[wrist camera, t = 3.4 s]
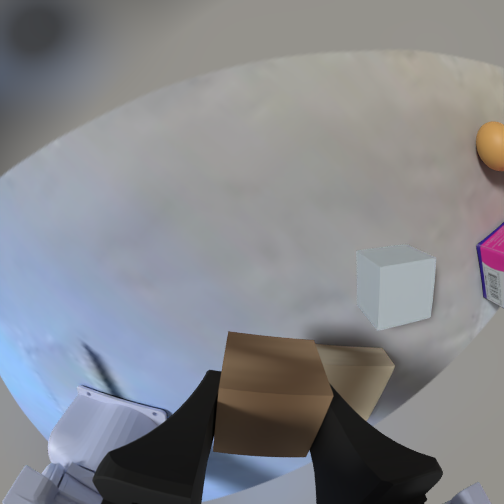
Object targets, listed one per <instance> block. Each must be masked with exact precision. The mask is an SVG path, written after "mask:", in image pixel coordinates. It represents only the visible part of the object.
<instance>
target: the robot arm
mask: <svg viewBox="0 0 504 504" xmlns="http://www.w3.org/2000/svg"><path fill="white" fill-rule="evenodd" d="M220 378H221V371H214V370H209V371H207V372H206V375H205V376H204V378H203V380H202V381H201V383H200V384H199V386H198V387H197V388H196V390H195V391H194V392H193V393H192V395H191V396H190V397H189V398H188V399H187V401H186V402H185V403H184V404H183V405H182V406H181V407H180V408H179V409H178V410H177V411H176V412H175V413H174V414H173V415H171V416H170V417H169V418H168V419H167V415H166V412H165V411H163V410H161V409H156V408H152V407H148V406H144V405H141V404H137V403H133V402H130V401H126V400H123V399H120V398H116V397H113V396H110V395H107V394H104V393H101V392H98V391H95V390H92V389H90V388H87V387H84V386H81V385H79V386H78V387H77V391H78V395H77V396H76V398H75V399H74V400H73V402H72V403H71V404H70V406H69V407H68V409H67V410H66V411H65V413H64V414H63V415H62V417H61V418H60V420H59V421H58V422H57V424H56V425H55V427H54V428H53V430H52V432H51V435H50V438H49V442H48V454H49V458H50V461H51V463H50V464H49V465H48V466H47V467H46V468H45V470H44V471H43V472H42V474H41V473H39V472H37V471H36V470H34V469H32V468H31V467H29V466H28V465H25V466H24V468H23V469H22V471H21V472H20V474H19V475H18V477H17V479H16V480H15V482H14V483H13V485H12V487H11V488H10V490H9V491H8V493H7V495H6V496H5V498H4V500H3V501H2V503H3V504H201V501H202V494H203V486H204V479H205V472H206V466H207V461H208V457H209V453H210V449H211V446H212V442H213V438H214V434H215V423H216V412H217V401H218V391H219V384H220ZM329 384H330V383H329ZM330 387H331V390H332V392H333V395H334V396H333V398H332V401H331V403H330V406H329V408H328V410H327V413H326V415H325V417H324V420H323V422H322V424H321V426H320V428H319V431H318V433H317V435H316V437H315V439H314V441H313V443H312V445H311V448H310V453H311V457H312V462H313V467H314V472H315V485H316V503H317V504H424V502H426V501H427V498H426V496H425V494H426V493H427V492H428V491H429V490H430V489H431V488H432V487H433V486H434V485H435V484H436V483H437V482H438V481H439V480H440V479H441V477H442V475H443V471H442V469H441V467H440V466H439V464H438V462H437V460H436V459H435V458H434V457H431V456H428V455H425V454H421V453H418V452H416V451H414V450H411V449H409V448H407V447H405V446H403V445H401V444H398V443H397V442H395V441H393V440H392V439H390V438H388V437H387V436H385V435H384V434H382V433H381V432H379V431H378V430H377V429H375V428H374V427H373V426H371V425H370V424H369V423H368V422H366V421H365V420H364V419H363V418H362V417H361V416H360V415H359V414H358V413H357V412H356V411H355V410H354V409H353V408H352V407H351V406H350V405H349V404H348V403H347V402H346V401H345V400H344V399H343V398H342V397H341V396H340V394H339V393H338V392H337V391H336V390H335V389H334V388H333V386H332V385H331V384H330ZM443 504H491V503H490V501H489V499H488V497H487V495H486V493H485V492H484V490H483V488H482V486H481V485H480V483H479V482H477V483H475V484H473V485H471V486H469V487H467V488H465V489H463V490H462V491H460V492H459V493H458V494H456V495H455V496H454V497H453V498H452V500H450V501H448V502H445V503H443Z"/></svg>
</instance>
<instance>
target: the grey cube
mask: <svg viewBox="0 0 504 504" xmlns="http://www.w3.org/2000/svg"><path fill="white" fill-rule="evenodd" d="M356 255H357V306H358V307H359V308H360V309H361V311H362V312H363V313H364V314H365V316H366V317H367V318H368V319H369V321H370V322H371V323H372V325H373V326H374V327H375V328H376V330H377V331H378V330H383V329H387V328H392V327H396V326H400V325H404V324H408V323H412V322H416V321H420V320H423V319H427V318H430V317H431V310H432V302H433V293H434V283H435V270H436V257H434V256H432V255H430V254H427V253H425V252H423V251H421V250H419V249H416V248H414V247H412V246H410V245H408V244H401V245H394V246H387V247H379V248H372V249H365V250H357V251H356Z"/></svg>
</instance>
